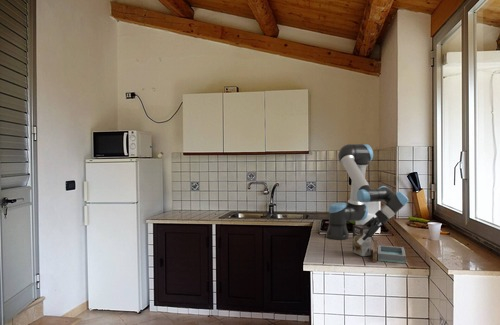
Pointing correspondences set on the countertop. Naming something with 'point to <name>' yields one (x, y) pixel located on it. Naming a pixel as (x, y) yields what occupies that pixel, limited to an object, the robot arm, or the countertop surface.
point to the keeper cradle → (391, 254)
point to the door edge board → (375, 250)
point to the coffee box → (366, 245)
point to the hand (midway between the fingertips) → (356, 240)
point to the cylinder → (370, 213)
